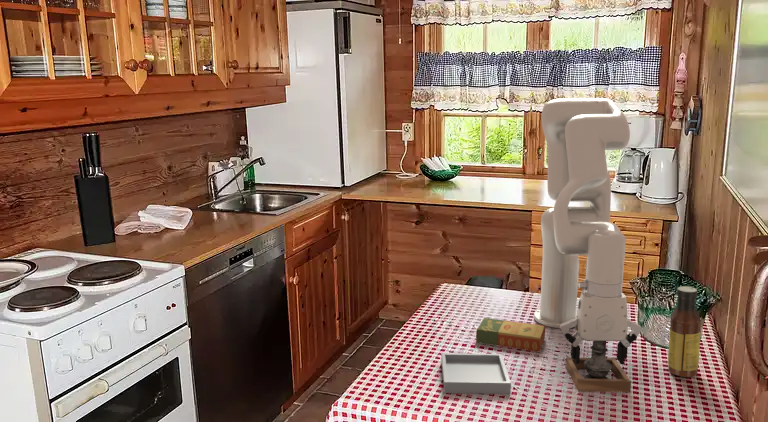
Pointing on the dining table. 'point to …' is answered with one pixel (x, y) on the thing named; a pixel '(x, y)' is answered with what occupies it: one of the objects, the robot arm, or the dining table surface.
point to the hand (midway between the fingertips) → (598, 361)
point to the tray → (475, 373)
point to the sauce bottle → (684, 335)
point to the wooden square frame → (598, 384)
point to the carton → (511, 334)
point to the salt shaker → (597, 362)
